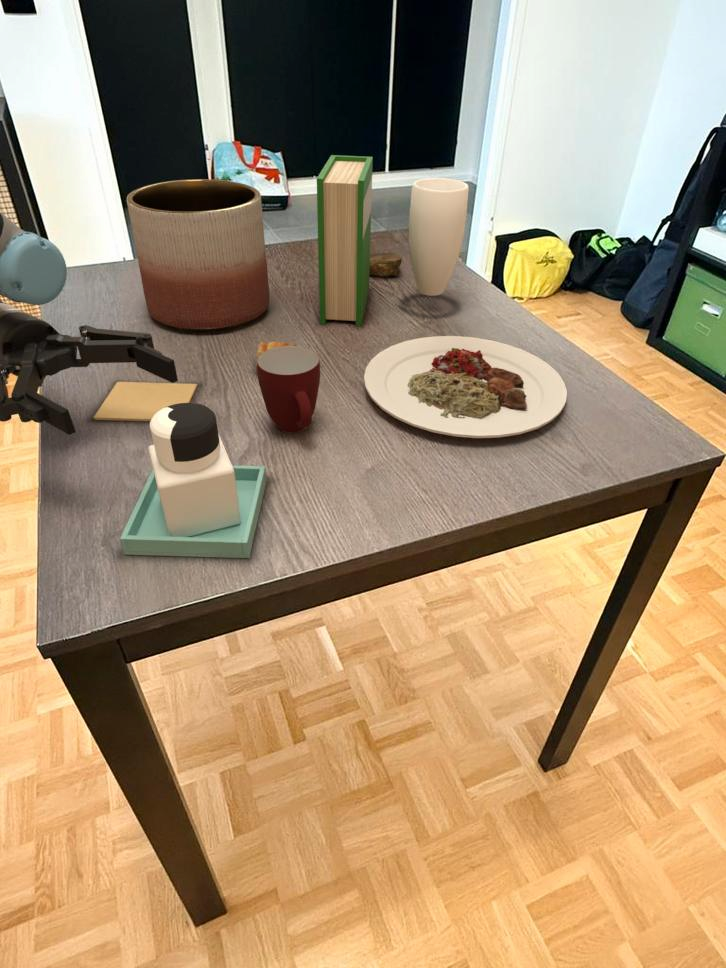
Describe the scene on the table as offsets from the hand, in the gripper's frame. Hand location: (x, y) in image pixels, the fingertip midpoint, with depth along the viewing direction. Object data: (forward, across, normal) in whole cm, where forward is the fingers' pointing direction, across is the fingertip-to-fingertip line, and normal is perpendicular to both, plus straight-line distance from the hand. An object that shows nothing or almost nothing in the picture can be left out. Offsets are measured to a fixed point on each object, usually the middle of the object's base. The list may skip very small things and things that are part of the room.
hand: (124, 395), depth 68 cm
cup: (-1, -68, -13) cm, 69 cm away
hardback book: (-14, -58, -13) cm, 61 cm away
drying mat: (-15, -12, -12) cm, 23 cm away
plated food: (+20, -43, -12) cm, 49 cm away
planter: (-32, -40, -12) cm, 53 cm away
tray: (+10, 0, -12) cm, 15 cm away
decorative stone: (-20, -78, -13) cm, 81 cm away
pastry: (-7, -32, -12) cm, 35 cm away
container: (+10, 0, -12) cm, 15 cm away
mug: (+7, -20, -12) cm, 24 cm away
